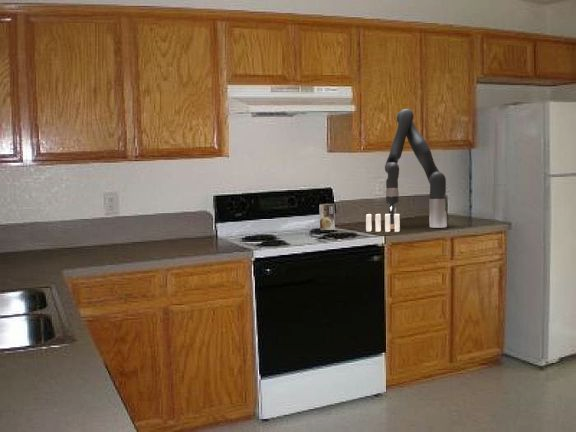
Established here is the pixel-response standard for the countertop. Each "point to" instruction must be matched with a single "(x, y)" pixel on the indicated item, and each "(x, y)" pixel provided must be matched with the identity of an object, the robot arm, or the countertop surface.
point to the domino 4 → (392, 226)
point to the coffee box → (327, 217)
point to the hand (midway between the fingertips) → (392, 223)
